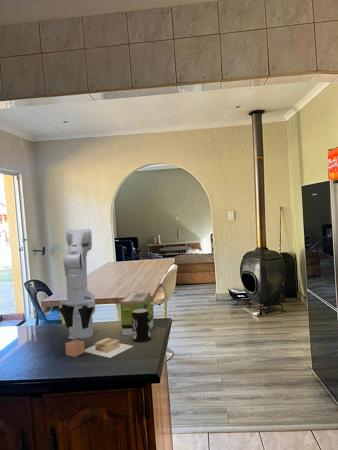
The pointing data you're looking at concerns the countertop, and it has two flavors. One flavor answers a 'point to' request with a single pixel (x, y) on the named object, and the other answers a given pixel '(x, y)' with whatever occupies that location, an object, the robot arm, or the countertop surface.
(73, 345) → the top brick
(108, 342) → the bottom brick
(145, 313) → the beverage can
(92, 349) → the build plate
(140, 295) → the tea box
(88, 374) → the countertop surface
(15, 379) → the countertop surface
